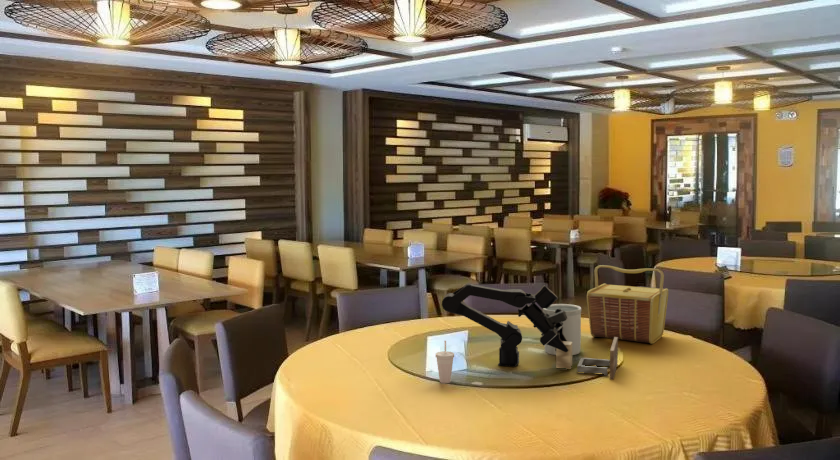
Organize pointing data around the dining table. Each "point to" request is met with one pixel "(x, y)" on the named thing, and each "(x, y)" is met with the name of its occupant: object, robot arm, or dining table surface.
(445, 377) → the smoothie
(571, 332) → the utensil holder
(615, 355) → the grey frame stand
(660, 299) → the picnic basket
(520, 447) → the dining table surface
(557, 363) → the cabinet block
